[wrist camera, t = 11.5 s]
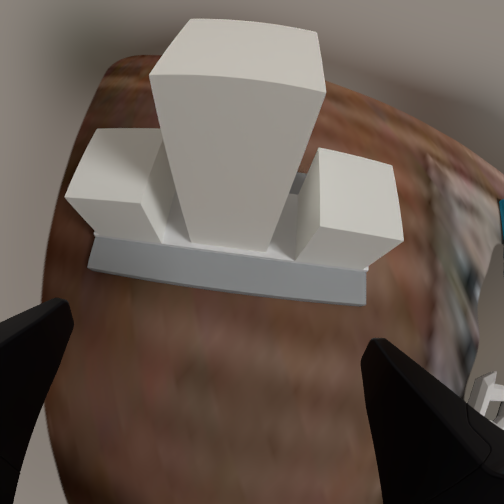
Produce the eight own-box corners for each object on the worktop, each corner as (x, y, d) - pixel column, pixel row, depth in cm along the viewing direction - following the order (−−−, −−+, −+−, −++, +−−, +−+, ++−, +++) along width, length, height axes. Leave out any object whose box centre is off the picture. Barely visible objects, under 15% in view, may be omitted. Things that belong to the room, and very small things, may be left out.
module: (266, 252, 19) (326, 92, 7) (191, 242, 19) (149, 74, 6) (271, 193, 20) (316, 30, 8) (203, 184, 20) (191, 17, 8)
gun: (465, 533, 8) (408, 538, 10) (446, 525, 11) (389, 525, 13) (531, 378, 15) (494, 349, 16) (510, 382, 18) (470, 354, 20)
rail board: (361, 306, 19) (413, 284, 13) (91, 270, 18) (44, 235, 12) (357, 189, 23) (392, 140, 17) (127, 160, 22) (105, 105, 16)
